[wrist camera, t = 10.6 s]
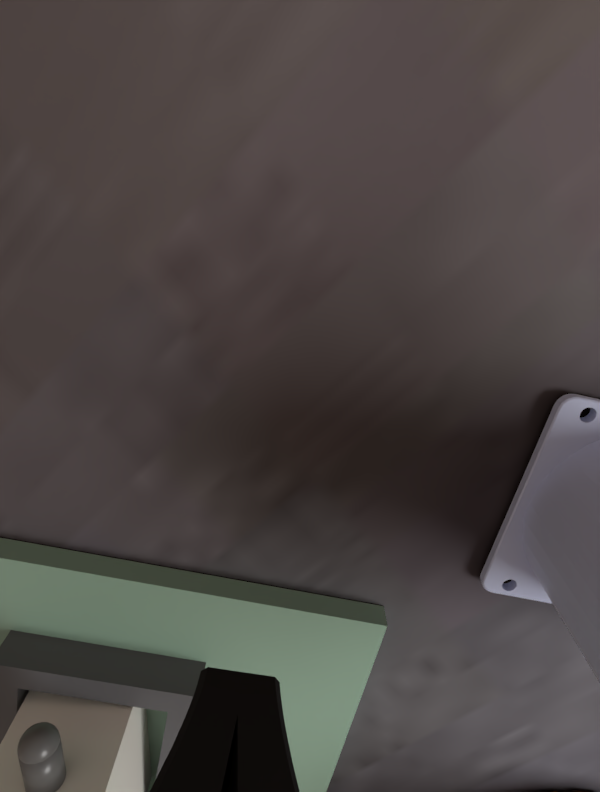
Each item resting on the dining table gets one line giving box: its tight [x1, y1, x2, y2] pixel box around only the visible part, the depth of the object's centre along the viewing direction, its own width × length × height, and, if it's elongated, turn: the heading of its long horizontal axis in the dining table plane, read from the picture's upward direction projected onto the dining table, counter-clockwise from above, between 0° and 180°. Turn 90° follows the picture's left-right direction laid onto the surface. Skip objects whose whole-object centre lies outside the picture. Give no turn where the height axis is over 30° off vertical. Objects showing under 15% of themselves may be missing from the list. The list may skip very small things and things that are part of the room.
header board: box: [0, 538, 387, 792], centre depth 22 cm, size 20×16×2 cm
